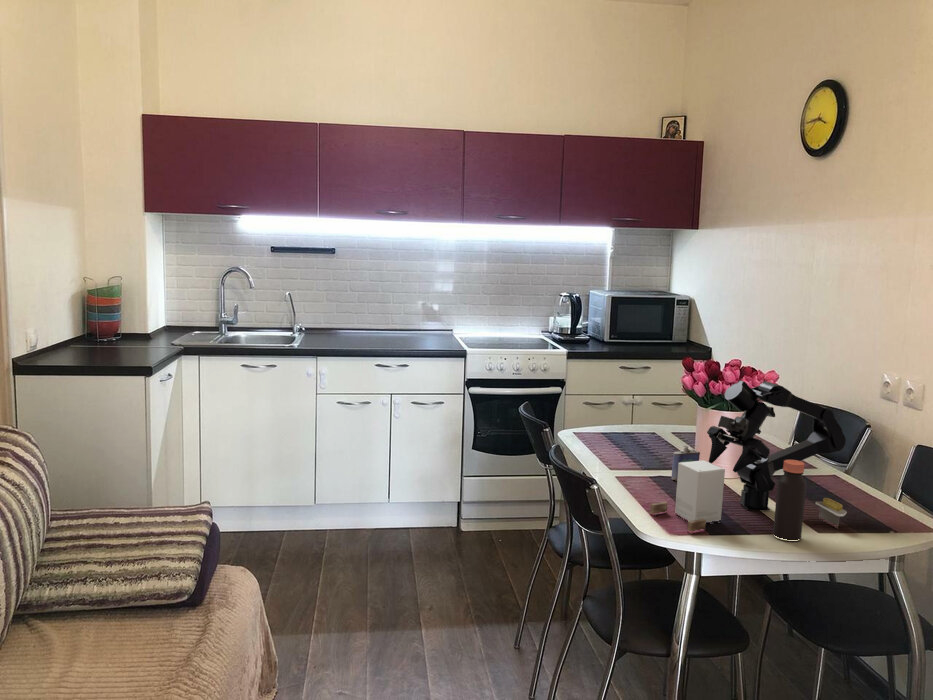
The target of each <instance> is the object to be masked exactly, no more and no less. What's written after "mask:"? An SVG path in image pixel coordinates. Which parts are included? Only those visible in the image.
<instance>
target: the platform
mask: <svg viewBox="0 0 933 700" xmlns="http://www.w3.org/2000/svg"><path fill="white" fill-rule="evenodd" d="M815 505H817V506H819V513H818V514H819V516H818V518H819V517H821V518H823V519H825V520H827V521H829V522H831V523H833V524H835V525H837V526H840V517H844V516H846V515H847V513H848V512H847V510H845V509H843V504H841V503H839V502H838V501H835V500H833V499H831V498H829V497H824V498H823V500H822V501H815Z"/></svg>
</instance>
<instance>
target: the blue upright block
mask: <svg viewBox="0 0 933 700" xmlns="http://www.w3.org/2000/svg"><path fill="white" fill-rule="evenodd" d="M682 448H683V450H682V451H681V450H680V451H674V452H673V455H672V456H673V457H672V464H671V465H672V467H671V468H672V469H671V477H670V478H671V481H673V480H675V481H674V482H677V479H678V463H681V462H692V461H700V455H701V453H700V451H698V450H695V449H689V446H688V445H684V446H682Z"/></svg>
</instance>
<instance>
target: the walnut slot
mask: <svg viewBox="0 0 933 700" xmlns="http://www.w3.org/2000/svg"><path fill="white" fill-rule="evenodd" d="M668 503H669V502H666V501H660V502H654V503H650V512H649V514H650V513H652V514H654V513H659V512H665V511H667V512H668V506H669V504H668ZM706 525H707V524H706V520H704V519H698V520H693V521H688V522H687V530H689V531H695V530H700V529H705V530H706Z"/></svg>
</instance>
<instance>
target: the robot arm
mask: <svg viewBox="0 0 933 700" xmlns="http://www.w3.org/2000/svg"><path fill="white" fill-rule="evenodd" d="M724 399H726V400H727V401H728V402H729V403H730V404H731V405H732V406H733V407H735V408H736V410H737V411H739V412H743V413H742V414H741V416H736V417H735V418H731V417H729V416H724V415H720V418H719V421H718V424H717V426H715V425H712V426H710V427H709V429H707V431H706V434H707V435H708V437H709V438H710V440H711V447H710V452H709V458H708V462H709V463H711V464H714V462H715V461H716V460H717V459H718V458H719V457H720V456H721V455H722V454H723V453H724V452H725V451H726V450H727V449H728V447H727V446H728V445H730V443H731V444H734V445H737V446H740V447H742V452H741V454H740V456H739V457H738V459H737V461H736V462H735V465H734V466H733V469H732V472H734V473H737V475H738V477H739V479H740V482H741V483H743V489H741V492H740V494H741V495H740V501H739V504H740V503H741V504H742V505H743V507H744V508H745V509H746V508H747V509H748V510H747V509H746V510H747V511H749V510H770V511H771V508H770V507H769V496H770V492H772V491H774V488H775V486H776V483H775V482H774V480H772V477H773V476H774V475H775V473H776V472H777V471H780V470H783V465H784V461H785V460H798V461H801V462H803V461H804V460H807V459H809V458H811V457H814V456H816V455H826V454H827V455H829V454H834V453H838V452H841V451H842V450H844V448H845V445H846V435H844V433H843V432H844V431H843V429H842V427H841V425H840V424H839V423H838V421H837V419H836V418H835V415H834V412H833V411H832V409H830V408H829V407H826V406H822V405H818V404H817V403H813V402H811V401H808V400H806V399H804V398H802V397H799V396H797V395H795V394H794V393H792V391H790V390H789V389H788V388H786V387H785V386H783V385H780V384H778V383H774V382H770V381H763V382H761V383H760V384H759V385H758V386H754V387H750V386H749V384H748V383H747V382H746V381H743V380H739V381H738V382H737V383H734V384H732V385H731V386H729V387H727V388H726V390H725V392H724ZM766 403H767V404H769V405H772V406H768V405H767V404H766ZM773 406H775V407H781V408H790V409H792V410H795V411H797V412H799V413H803V414H805V415H807V416H810V417H812V425H811V426H812V432H811V433H810V435H809V436H808V438H807V439H805V440H802V441H800V442H798V443H796V444H793V445H790V446H788V447H786V448H784V449H781V450H779V451H777V452H774V453H772V454H771V453H770V448H769V447H768V445H767V444H765V443H764V442H763V441H762V439H758V438H755V436H756V434H758V435H760V434H761V433H762V430H761V427H762V425H763V423H764V422H765V420H766V418H767V417H771V418H775V417H776V413H775V409H774V407H773ZM724 429H725V430H724ZM728 433H729V434H728ZM741 504H740V505H741ZM742 505H741V506H742Z"/></svg>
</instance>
